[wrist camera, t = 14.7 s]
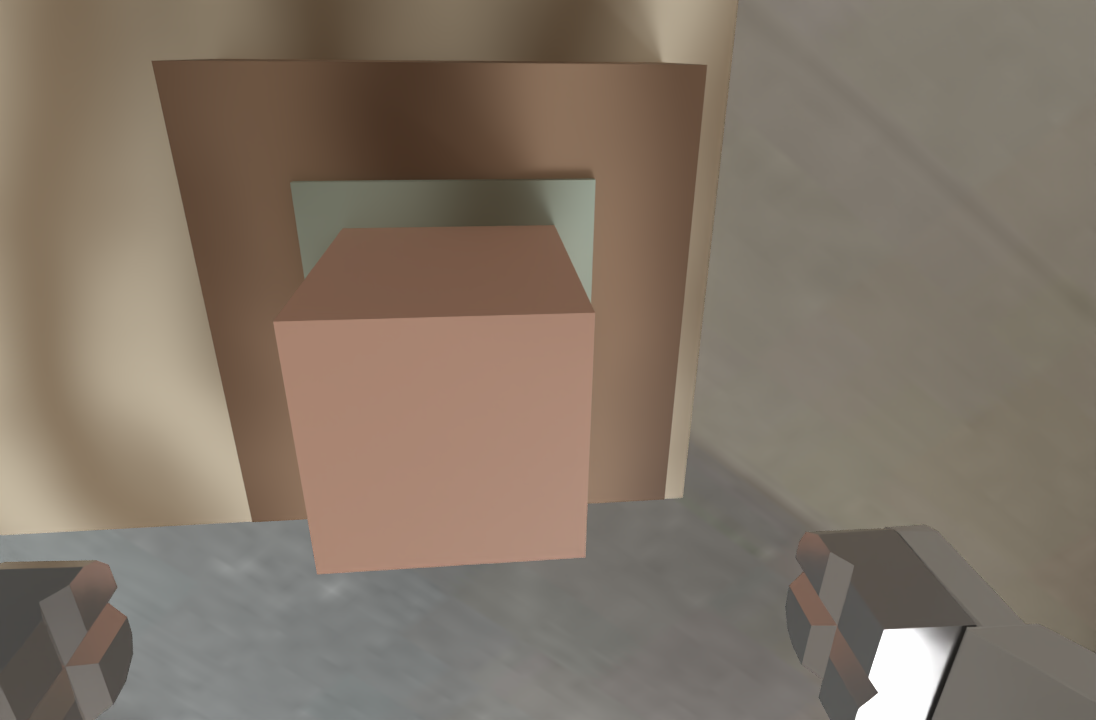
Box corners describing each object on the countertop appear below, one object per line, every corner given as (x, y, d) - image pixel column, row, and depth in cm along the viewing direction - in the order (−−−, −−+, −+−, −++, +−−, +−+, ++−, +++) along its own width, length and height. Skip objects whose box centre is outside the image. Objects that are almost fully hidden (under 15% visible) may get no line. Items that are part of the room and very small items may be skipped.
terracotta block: (554, 225, 16) (594, 312, 11) (552, 406, 18) (585, 557, 13) (342, 228, 16) (273, 321, 10) (365, 414, 18) (317, 574, 12)
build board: (726, -54, 19) (819, -92, 14) (671, 474, 27) (719, 576, 21) (-201, -77, 17) (-498, -133, 12) (27, 508, 24) (-93, 630, 19)
